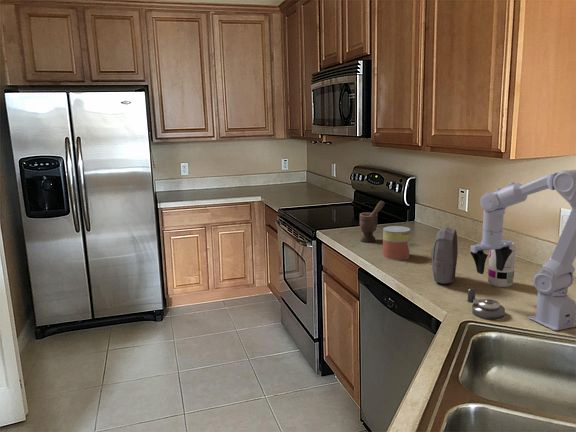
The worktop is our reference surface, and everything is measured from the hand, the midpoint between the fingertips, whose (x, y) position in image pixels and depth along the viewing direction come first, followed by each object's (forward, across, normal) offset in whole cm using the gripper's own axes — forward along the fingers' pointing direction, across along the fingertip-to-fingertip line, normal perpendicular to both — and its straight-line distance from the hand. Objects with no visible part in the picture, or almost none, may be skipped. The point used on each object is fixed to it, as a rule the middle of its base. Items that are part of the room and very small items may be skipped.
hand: (489, 271), depth 151 cm
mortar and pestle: (+10, -2, -81) cm, 82 cm away
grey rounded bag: (+10, +2, -21) cm, 23 cm away
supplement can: (+10, -14, -10) cm, 20 cm away
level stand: (+9, +8, +9) cm, 15 cm away
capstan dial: (+7, +9, +7) cm, 13 cm away
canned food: (+10, +1, -54) cm, 55 cm away
